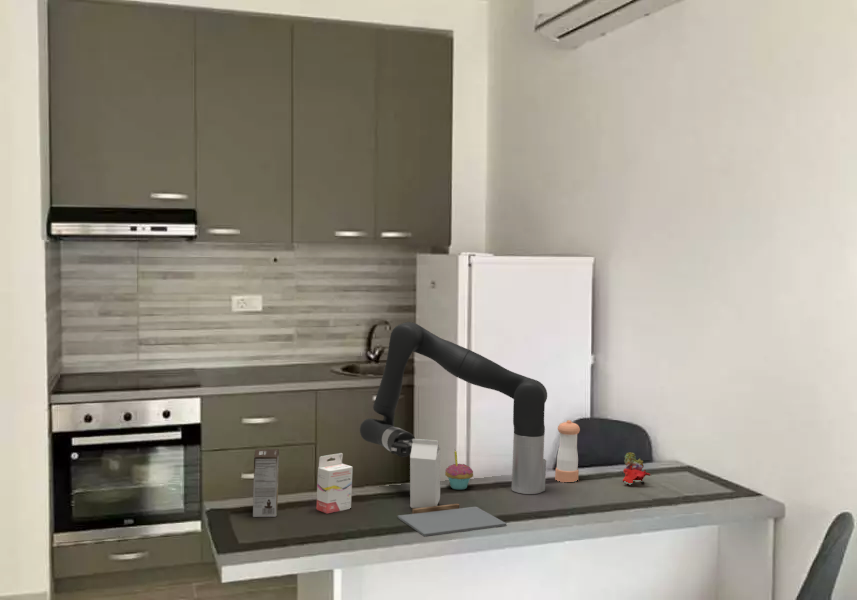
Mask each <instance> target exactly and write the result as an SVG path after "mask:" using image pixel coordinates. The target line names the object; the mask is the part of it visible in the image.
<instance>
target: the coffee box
mask: <svg viewBox="0 0 857 600" xmlns="http://www.w3.org/2000/svg"><path fill="white" fill-rule="evenodd" d="M279 461H280V449H279V448H270V449H268V448H267V449H266V448H264V449H263V448H261V449H258V448H257V449H255V451H254V456H253V488H252V489H253V490H252V491H253V493H252V496H253V497H252V500H253V501H252V503H253V504H252V517H253V518H269V517H270V518H271V517H272V518H273V517H274V518H275V517H277V515H278V502H279V501H278V496H279V469H280V468H279V465H280V464H279V463H280V462H279Z"/></svg>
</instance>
